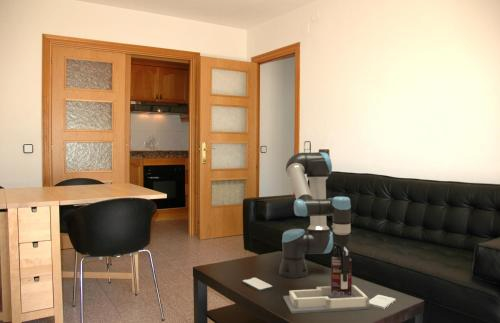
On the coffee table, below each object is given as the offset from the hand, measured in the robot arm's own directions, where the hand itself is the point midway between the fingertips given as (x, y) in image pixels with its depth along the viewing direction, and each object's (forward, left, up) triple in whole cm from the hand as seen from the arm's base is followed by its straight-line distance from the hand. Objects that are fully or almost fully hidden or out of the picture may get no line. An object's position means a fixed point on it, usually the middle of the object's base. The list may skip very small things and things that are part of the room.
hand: (341, 286), depth 173 cm
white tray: (0, -8, -7) cm, 11 cm away
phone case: (-27, -33, -8) cm, 43 cm away
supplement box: (0, 0, -4) cm, 4 cm away
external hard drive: (+3, +17, -8) cm, 19 cm away
